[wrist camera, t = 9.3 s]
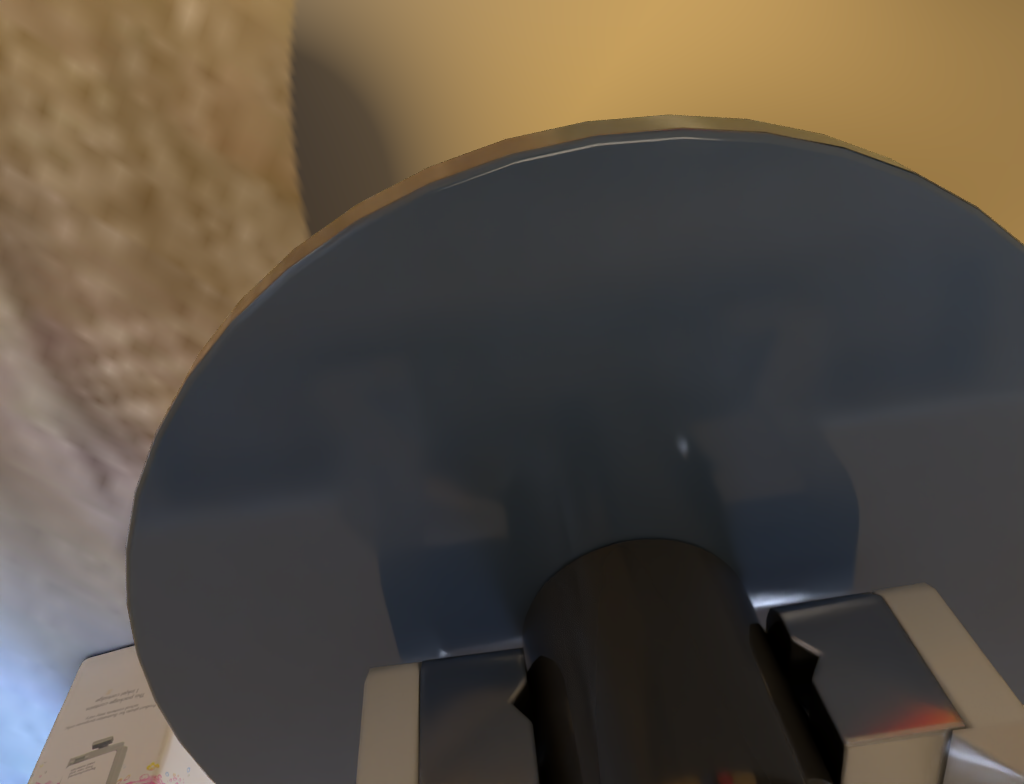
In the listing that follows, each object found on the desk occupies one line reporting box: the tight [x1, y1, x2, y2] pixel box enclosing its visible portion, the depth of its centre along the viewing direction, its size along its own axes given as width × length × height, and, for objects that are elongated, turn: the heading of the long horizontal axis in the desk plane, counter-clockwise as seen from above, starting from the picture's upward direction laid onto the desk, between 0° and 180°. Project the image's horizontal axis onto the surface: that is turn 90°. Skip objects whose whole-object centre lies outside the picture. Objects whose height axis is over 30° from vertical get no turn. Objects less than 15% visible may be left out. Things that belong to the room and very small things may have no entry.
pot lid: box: [125, 115, 1024, 784], centre depth 8 cm, size 10×10×4 cm
